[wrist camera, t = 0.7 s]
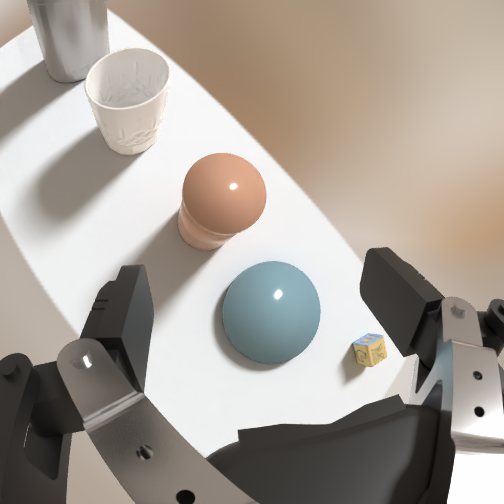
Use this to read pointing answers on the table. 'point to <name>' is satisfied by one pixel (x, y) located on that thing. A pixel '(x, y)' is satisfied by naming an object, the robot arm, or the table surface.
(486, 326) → the robot arm
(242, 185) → the dome-topped peach cylinder
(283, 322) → the blue-grey round disc
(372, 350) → the alphabet block
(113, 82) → the white cup
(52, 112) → the table surface
